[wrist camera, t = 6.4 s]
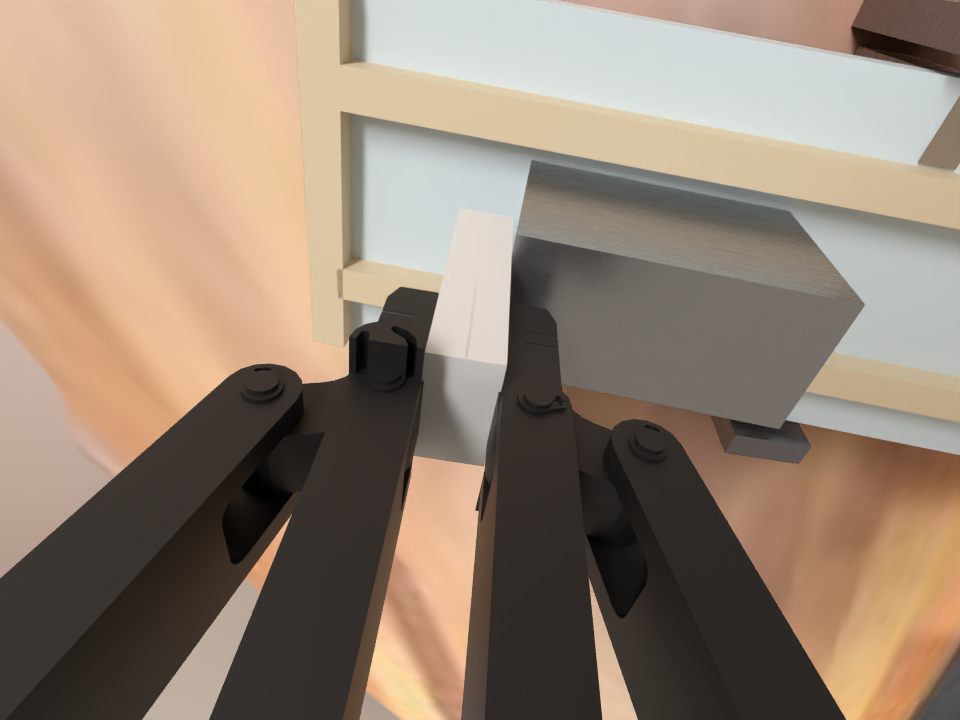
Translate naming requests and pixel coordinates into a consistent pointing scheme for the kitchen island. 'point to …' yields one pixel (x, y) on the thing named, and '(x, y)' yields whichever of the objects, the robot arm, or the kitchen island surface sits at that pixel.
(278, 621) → the robot arm
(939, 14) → the fulcrum
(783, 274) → the block
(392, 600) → the kitchen island surface
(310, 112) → the beam
